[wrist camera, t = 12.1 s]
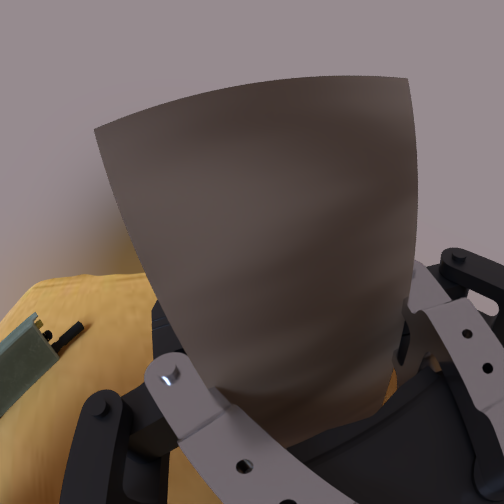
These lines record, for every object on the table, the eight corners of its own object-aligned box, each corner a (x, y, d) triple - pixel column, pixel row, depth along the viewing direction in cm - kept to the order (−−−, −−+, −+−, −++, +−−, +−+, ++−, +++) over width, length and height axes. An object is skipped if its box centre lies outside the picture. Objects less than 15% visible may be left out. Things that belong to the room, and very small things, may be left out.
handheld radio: (-22, 427, 14) (81, 327, 32) (-18, 443, 13) (91, 335, 30) (-55, 396, 11) (58, 289, 29) (-54, 411, 9) (66, 295, 27)
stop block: (275, 482, 9) (93, 129, 3) (243, 407, 13) (134, 133, 7) (369, 437, 10) (407, 78, 4) (324, 372, 14) (289, 96, 8)
